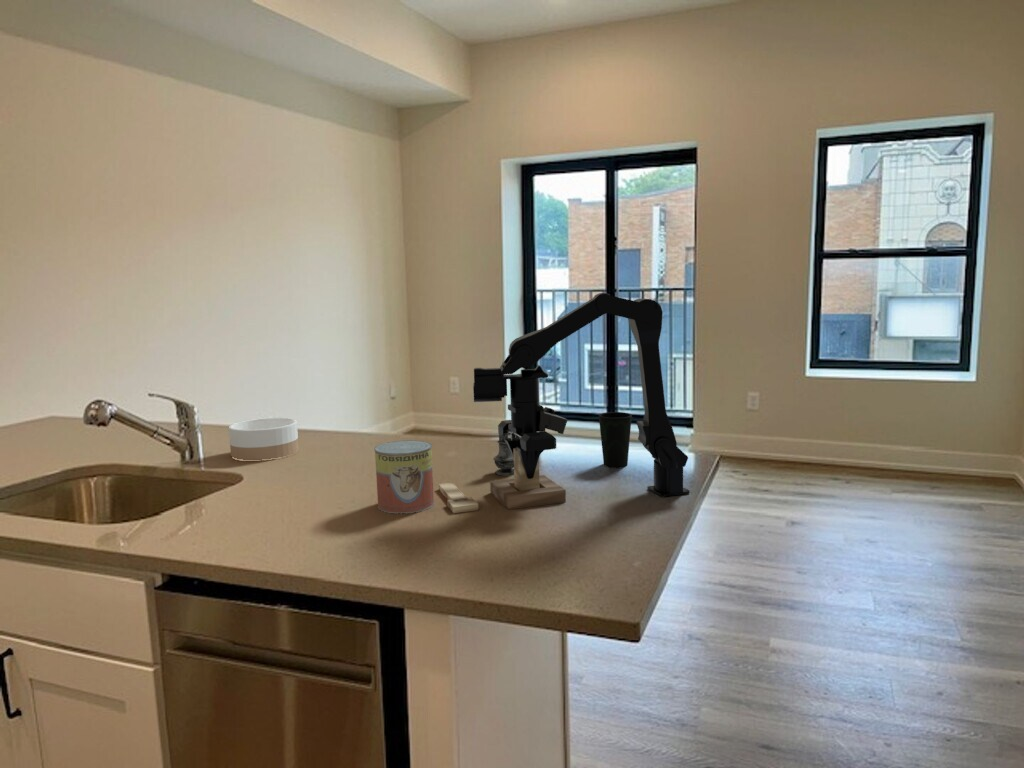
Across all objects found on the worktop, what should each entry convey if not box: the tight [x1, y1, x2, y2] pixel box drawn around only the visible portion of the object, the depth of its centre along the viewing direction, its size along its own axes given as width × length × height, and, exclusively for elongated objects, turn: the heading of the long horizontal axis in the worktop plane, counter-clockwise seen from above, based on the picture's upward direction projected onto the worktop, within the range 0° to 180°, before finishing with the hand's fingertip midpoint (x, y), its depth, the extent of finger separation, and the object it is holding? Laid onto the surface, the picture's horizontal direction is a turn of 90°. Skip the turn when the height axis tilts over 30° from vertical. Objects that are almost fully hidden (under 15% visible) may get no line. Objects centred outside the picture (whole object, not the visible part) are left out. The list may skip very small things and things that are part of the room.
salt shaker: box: [492, 433, 514, 477], centre depth 166 cm, size 6×6×12 cm
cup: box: [598, 411, 633, 468], centre depth 171 cm, size 8×8×12 cm
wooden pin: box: [513, 448, 540, 491], centre depth 147 cm, size 4×4×8 cm
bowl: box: [228, 417, 300, 460], centre depth 193 cm, size 17×17×8 cm
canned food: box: [374, 440, 435, 515], centre depth 144 cm, size 11×11×12 cm
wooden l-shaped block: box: [438, 482, 479, 514], centre depth 148 cm, size 17×5×1 cm, turn 19°
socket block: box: [489, 474, 567, 510], centre depth 148 cm, size 12×12×2 cm
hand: (526, 475), depth 147 cm, fingers closed on wooden pin, 4 cm apart
